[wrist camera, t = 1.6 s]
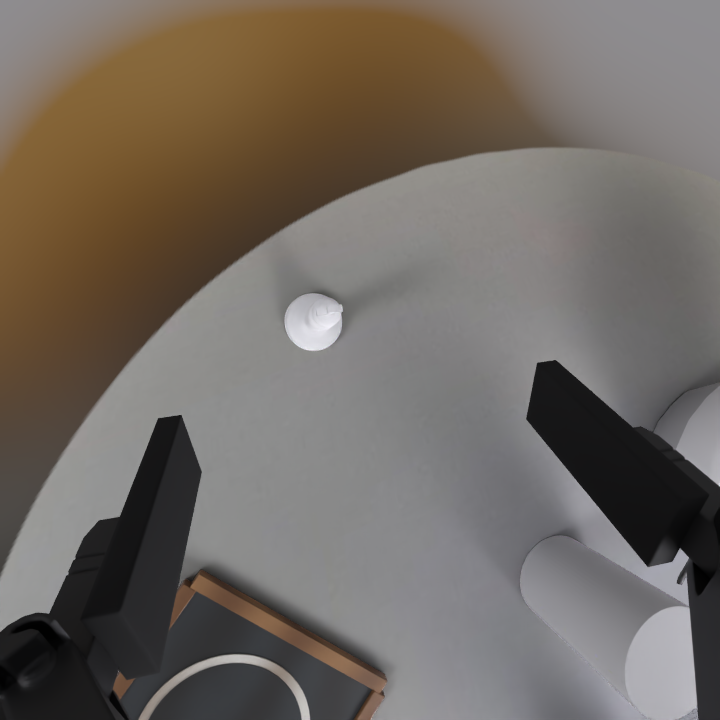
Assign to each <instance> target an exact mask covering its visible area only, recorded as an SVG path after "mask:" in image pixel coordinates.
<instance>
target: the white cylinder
mask: <svg viewBox="0 0 720 720" xmlns="http://www.w3.org/2000/svg"><path fill="white" fill-rule="evenodd" d="M520 588H521V593H522V596H523V599H524V601H525V603H526V604H527V606H528V607H529V608H530V609H531V610H532V611H533V612H534V613H535V614H536V615H537V616H538V617H539V618H540V619H542V620H543V621H544V622H545V623H546V624H547V625H548V626H549V627H550V628H551V629H552V630H553V631H554V632H555V633H556V634H557V635H558V636H559V637H560V638H561V639H563V640H564V641H565V642H566V643H567V644H568V645H569V646H570V647H571V648H572V649H573V650H574V651H575V652H576V653H577V654H578V655H579V656H580V657H581V658H583V659H584V660H585V661H586V662H587V663H588V664H589V665H590V666H591V667H592V668H593V669H594V670H595V671H596V672H597V673H598V674H599V675H600V676H601V677H602V678H604V679H605V680H606V681H607V682H608V683H609V684H610V685H611V686H612V687H613V688H614V689H615V690H616V691H617V692H618V693H619V694H620V695H621V696H622V697H623V698H625V699H626V700H627V701H628V702H629V703H630V704H631V705H632V706H633V707H634V708H635V709H636V710H637V711H638V712H639V713H640V714H642V715H643V716H644V717H646V718H648V719H650V720H677V719H680V718H682V717H684V716H686V715H687V714H689V713H690V712H691V711H692V710H694V709H695V708H696V707H697V695H696V683H695V670H694V658H693V646H692V633H691V621H690V609H689V606H687V605H685V604H683V603H682V602H680V601H678V600H677V599H675V598H673V597H672V596H670V595H668V594H666V593H665V592H663V591H661V590H660V589H658V588H656V587H655V586H653V585H651V584H650V583H648V582H646V581H644V580H643V579H641V578H639V577H638V576H636V575H634V574H633V573H631V572H629V571H627V570H626V569H624V568H622V567H621V566H619V565H617V564H616V563H614V562H612V561H610V560H609V559H607V558H605V557H604V556H602V555H600V554H599V553H597V552H595V551H594V550H592V549H590V548H588V547H587V546H585V545H583V544H582V543H580V542H578V541H577V540H575V539H573V538H571V537H568V536H562V535H558V536H552V537H549V538H546V539H544V540H542V541H541V542H539V543H538V544H537V545H536V546H535V547H534V548H533V549H532V550H531V551H530V552H529V554H528V555H527V557H526V559H525V561H524V563H523V566H522V570H521V575H520Z"/></svg>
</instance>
